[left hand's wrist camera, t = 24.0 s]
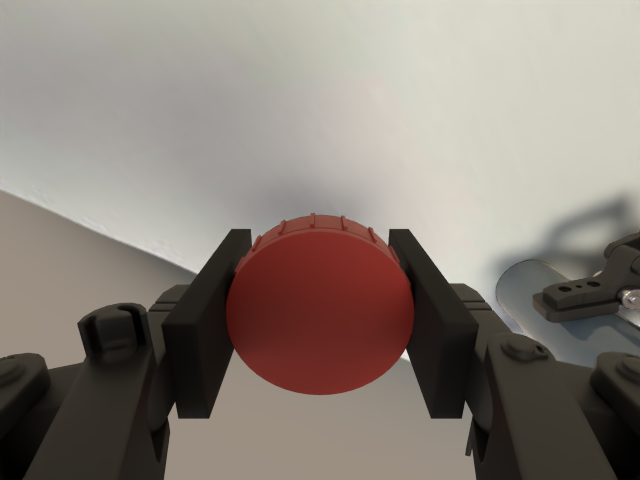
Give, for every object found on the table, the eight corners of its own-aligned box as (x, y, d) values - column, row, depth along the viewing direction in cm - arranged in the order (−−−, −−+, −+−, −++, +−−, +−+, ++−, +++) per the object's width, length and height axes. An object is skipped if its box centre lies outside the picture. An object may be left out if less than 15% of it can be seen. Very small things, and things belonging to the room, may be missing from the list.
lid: (441, 280, 12) (459, 307, 10) (333, 387, 13) (334, 424, 12) (304, 175, 10) (302, 186, 9) (203, 306, 12) (186, 335, 10)
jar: (489, 272, 27) (753, 529, 11) (552, 251, 26) (934, 490, 10) (502, 320, 29) (747, 609, 12) (561, 302, 28) (903, 579, 12)
